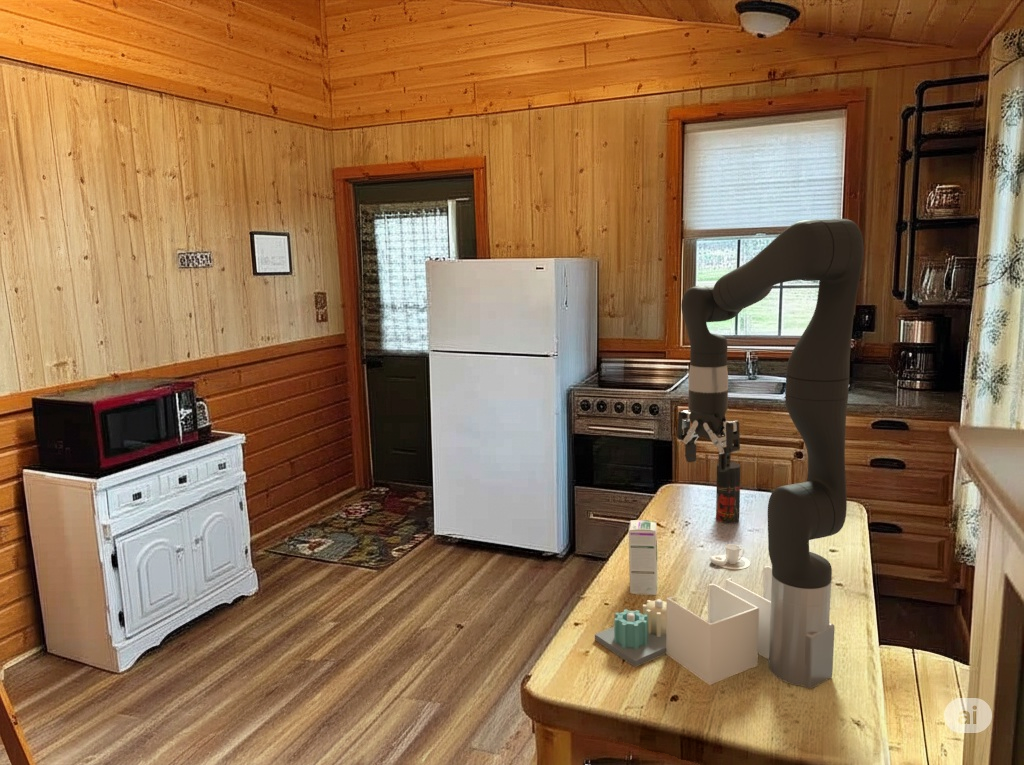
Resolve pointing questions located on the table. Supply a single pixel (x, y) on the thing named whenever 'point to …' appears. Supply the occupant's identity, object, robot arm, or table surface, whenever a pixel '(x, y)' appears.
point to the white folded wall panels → (721, 631)
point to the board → (654, 636)
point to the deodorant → (728, 494)
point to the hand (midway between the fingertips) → (706, 466)
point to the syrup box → (643, 557)
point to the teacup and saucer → (730, 557)
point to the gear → (630, 629)
